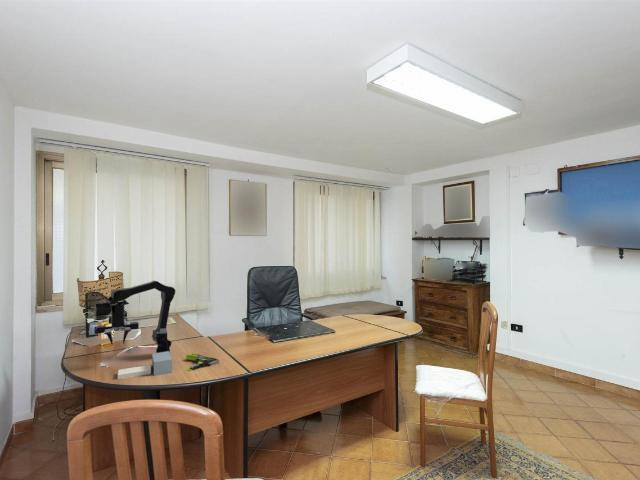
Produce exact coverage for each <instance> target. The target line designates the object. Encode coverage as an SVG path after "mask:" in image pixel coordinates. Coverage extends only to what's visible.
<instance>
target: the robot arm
mask: <svg viewBox="0 0 640 480" xmlns="http://www.w3.org/2000/svg"><path fill="white" fill-rule="evenodd" d="M154 289H155V290H157V291H159V292H160V298H161V299H160V300H161V305H160V310H159V316H158V317H159V318H158V321H157V322H158V323H157V327H156V328H155V329H152V335H151V338H152V342H154V343H155V344H156V345H157V346H156V348H155V353H160V352H166V351H169V353H170V354H171V349H170V348H171V345H172V344H173V343H172V341H171V340H170V339H168V329H167V325H168V320H169V314H170V308H171V303H172V301H173V300H174V297H175V294H176V289H175V287H172V286H169V285H165V284H163V283H161V282H159V281H158V280H152V281H150V282H149V281H148V282H145V283H141V284H139V285H135V286H131V287H125V288H124V287H123V288H116V289H113V290H111V292H110V296H109V297H108V298H107V300H106V301H105V302H95V303H94V306H93V311H92V312H93V316H94V318H97V317H104V316H105V317H106V316H109V315H110V314H111V316H109V317H108V324H109V325H110V326H108V325H106V324H102V325H97V326H96V328H95V334H103V335H106V336H107V338H108V340H109V342H110V344H111V345H112V346H113V345H114V343H113V342H114V340H113V334H112V331H113V330H123V329H124V331H123V338H122V344H125V342H126V338H127V336H128V334H129V332H132V331H133V330H138V329H139V326H140V323H139V321H131V322H129V323H128V324H125V305H129V304H130V303H129V302H128V301H127V300H126V299H129V298H130V297H132V296H135V295H137V294H141V293H144V292H148V291H151V290H154Z"/></svg>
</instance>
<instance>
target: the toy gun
mask: <svg viewBox="0 0 640 480" xmlns="http://www.w3.org/2000/svg"><path fill="white" fill-rule="evenodd" d="M185 360H188V361H193V362H194V364H193V365H191V366H189V368H188V369H187V371H189V372H190V371H191V372H192V371H195V370H198V369H201V368H205V367H206V368H207V367H211V366H215V365H219V364H220V360H219V359H218V358H214V357H212V356H207V355H201V354H198V353H189V354H187V355H185Z"/></svg>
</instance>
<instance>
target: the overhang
mask: <svg viewBox="0 0 640 480" xmlns="http://www.w3.org/2000/svg"><path fill="white" fill-rule="evenodd" d="M151 354H152V355H151V368H153V376H159V375H164V374H169V373H173V358H172V356H171V352H170V353H169V351H166V352H160V353H156V352H154V353H151Z"/></svg>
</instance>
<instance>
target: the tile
mask: <svg viewBox="0 0 640 480" xmlns="http://www.w3.org/2000/svg"><path fill="white" fill-rule="evenodd" d="M151 374H152V364H148V365H142V366H136V367H135V366H134V367H129V368H121V369H118V372H117V380H121V379H127V378H128V377H129V378H133V377H134V376H135V377H140V376H145V375H151ZM135 377H134V378H135Z"/></svg>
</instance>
